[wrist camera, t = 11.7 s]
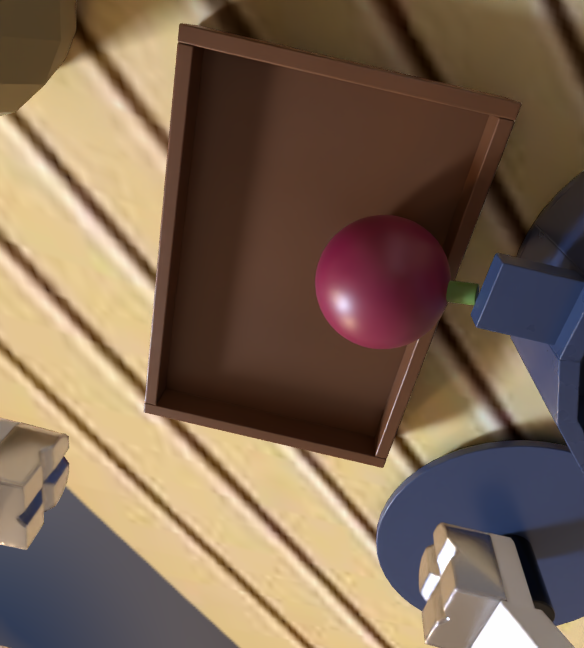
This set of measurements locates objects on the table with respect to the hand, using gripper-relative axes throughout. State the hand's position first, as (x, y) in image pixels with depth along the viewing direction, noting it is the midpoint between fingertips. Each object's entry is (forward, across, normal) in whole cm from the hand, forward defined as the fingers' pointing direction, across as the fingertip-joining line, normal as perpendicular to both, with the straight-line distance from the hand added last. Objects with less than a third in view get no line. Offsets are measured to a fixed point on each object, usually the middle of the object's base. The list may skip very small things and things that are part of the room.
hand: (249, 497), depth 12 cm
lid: (+14, -14, +14) cm, 24 cm away
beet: (+12, -1, 0) cm, 12 cm away
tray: (+14, 0, 0) cm, 14 cm away
